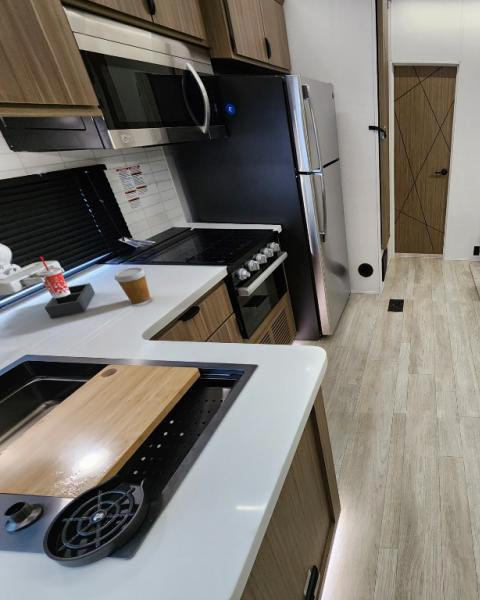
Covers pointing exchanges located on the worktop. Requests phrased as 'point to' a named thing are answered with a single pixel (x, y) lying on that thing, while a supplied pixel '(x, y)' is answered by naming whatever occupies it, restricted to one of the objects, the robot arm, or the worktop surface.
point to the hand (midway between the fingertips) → (53, 275)
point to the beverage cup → (54, 281)
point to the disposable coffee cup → (133, 284)
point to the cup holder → (71, 301)
